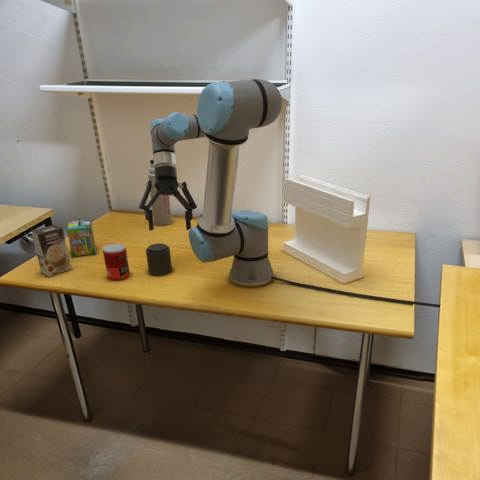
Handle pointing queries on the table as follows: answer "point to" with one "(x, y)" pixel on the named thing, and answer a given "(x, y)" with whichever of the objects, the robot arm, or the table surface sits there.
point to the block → (328, 227)
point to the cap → (158, 259)
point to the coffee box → (51, 250)
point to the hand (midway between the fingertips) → (170, 229)
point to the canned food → (116, 261)
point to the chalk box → (81, 237)
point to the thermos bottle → (159, 202)
